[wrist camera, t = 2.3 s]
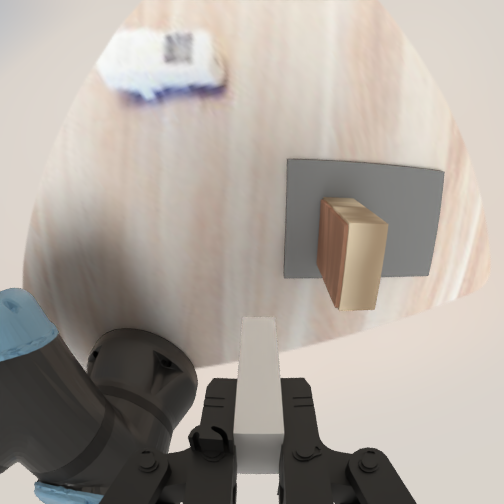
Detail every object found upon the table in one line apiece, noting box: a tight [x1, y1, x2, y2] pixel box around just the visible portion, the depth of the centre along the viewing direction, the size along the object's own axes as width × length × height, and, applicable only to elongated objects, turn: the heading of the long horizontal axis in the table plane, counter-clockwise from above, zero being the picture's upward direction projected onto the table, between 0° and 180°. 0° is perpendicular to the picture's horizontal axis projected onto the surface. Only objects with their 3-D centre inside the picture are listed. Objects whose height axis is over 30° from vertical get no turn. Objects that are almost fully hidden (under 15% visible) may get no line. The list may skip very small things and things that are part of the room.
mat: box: [284, 159, 444, 278], centre depth 31 cm, size 17×12×1 cm
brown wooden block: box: [316, 197, 388, 311], centre depth 27 cm, size 3×7×9 cm, turn 0°
